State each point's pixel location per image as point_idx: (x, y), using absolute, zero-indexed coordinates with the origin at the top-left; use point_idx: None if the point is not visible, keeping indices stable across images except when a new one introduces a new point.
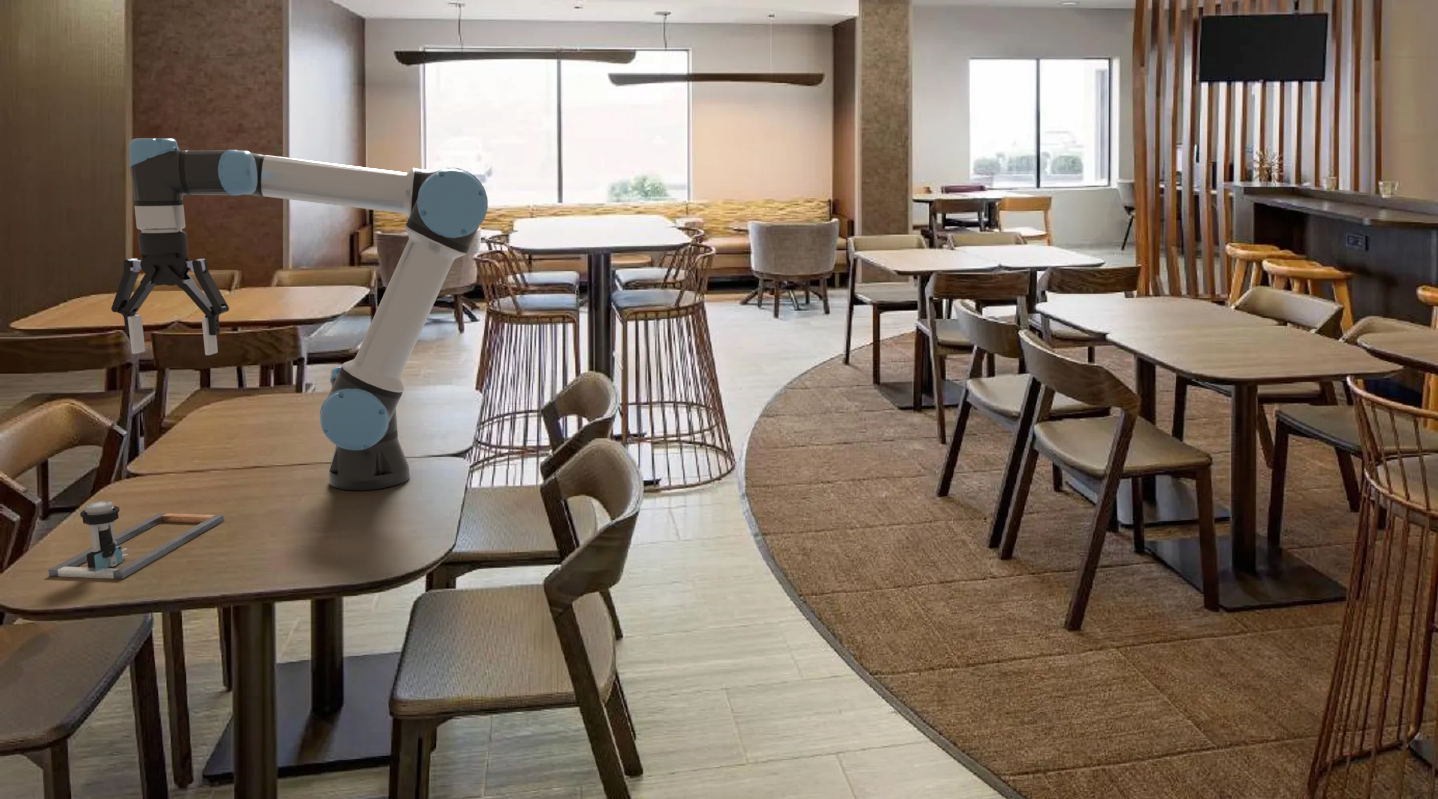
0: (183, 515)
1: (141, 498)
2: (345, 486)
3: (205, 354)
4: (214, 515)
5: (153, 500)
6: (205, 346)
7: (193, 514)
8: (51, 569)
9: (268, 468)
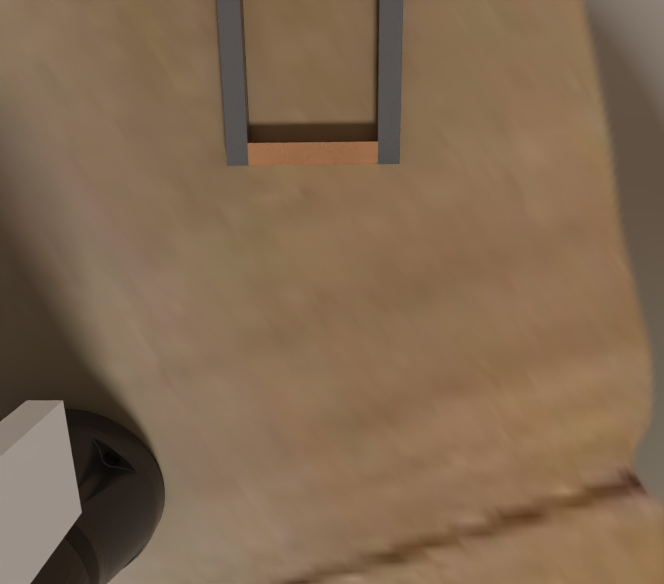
0: (325, 151)
1: (534, 310)
2: (80, 415)
3: (57, 402)
4: (248, 161)
5: (495, 298)
6: (7, 441)
7: (305, 162)
8: None
9: (360, 549)
